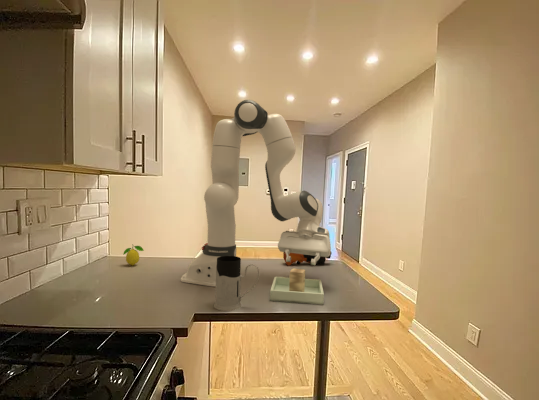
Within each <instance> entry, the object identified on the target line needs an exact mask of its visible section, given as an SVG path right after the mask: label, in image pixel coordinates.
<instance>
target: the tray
mask: <svg viewBox="0 0 539 400" xmlns="http://www.w3.org/2000/svg"><path fill="white" fill-rule="evenodd" d="M289 282H290V277H289V276H287V277H284V276H274V278H273V280H272V285H271V288H270V291H269V292H270V295H269V301H270V302H278V303H279V302H281V303H283V302H284V303H295V304H297V303H298V304H308V305H311V304H312V305H322V306H323V305H324V302H325V301H324V297H325V294H324V289H323V284H322V279H319V278H316V279H314V278H305V289H304V292H296V291H289Z"/></svg>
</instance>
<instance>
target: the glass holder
mask: <svg viewBox="0 0 539 400" xmlns="http://www.w3.org/2000/svg"><path fill="white" fill-rule="evenodd" d="M241 264H242V259H241V257H240V256H237V255H236V256H221V257H218V258H217V265H216V286H215V295H214V296H215V301H214V303H213V308H214V309H216V310H218V311H221V312H222V311H224V312H230V311H235V310H236V311H237V310H239V309H240V308H242V302H241V300H242V298H243V297H244V296H245V295H247V294H248V293H249V292H250V291H252V290H253V289H254V288H255V286H256V285H257V283H258V281H259V277H260V269H259V266H258V265H256V264H255V263H250V264H248V265H246V267H245V269H244V275H242V273H241V269H242V268H241ZM250 266H252V267H253V266H254V267H255V268H256V269H257V278H256V281H255V283H254V285H253V286H252V287H251V288H250V289H248V290H247V291H246V292H245V293H243V294H242V295H241V281H242V280H241V279H242V278H244V277H246V276H247V270H248V268H249V267H250Z"/></svg>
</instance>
